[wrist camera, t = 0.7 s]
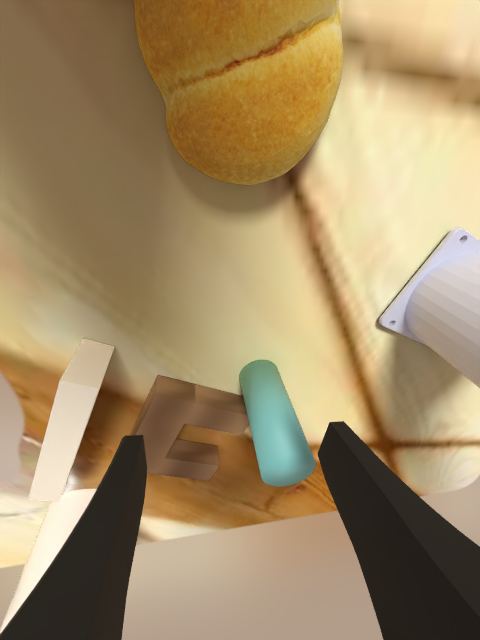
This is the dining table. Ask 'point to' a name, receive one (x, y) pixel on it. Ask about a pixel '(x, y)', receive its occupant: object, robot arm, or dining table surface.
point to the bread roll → (243, 79)
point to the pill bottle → (48, 543)
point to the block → (192, 409)
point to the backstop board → (69, 418)
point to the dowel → (274, 426)
